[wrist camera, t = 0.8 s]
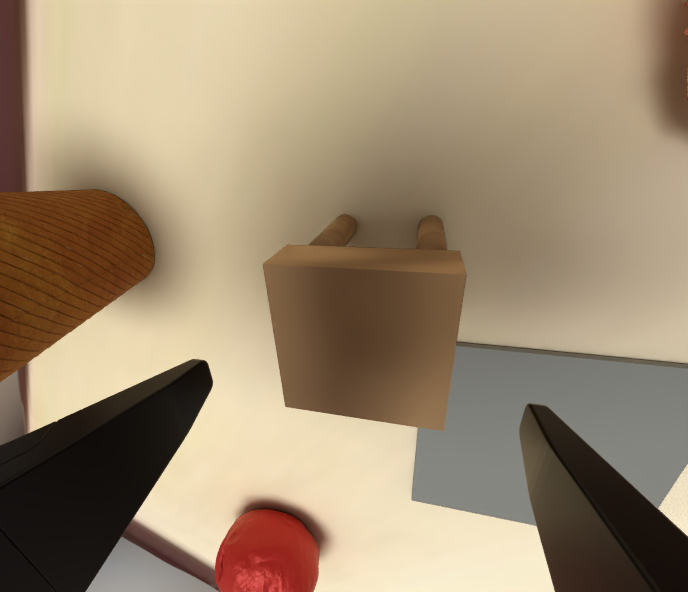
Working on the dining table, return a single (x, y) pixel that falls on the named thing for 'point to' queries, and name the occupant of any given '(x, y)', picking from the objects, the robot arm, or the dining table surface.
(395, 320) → the stool
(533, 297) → the dining table surface
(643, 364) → the mat
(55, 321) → the disposable coffee cup
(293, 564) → the pomegranate
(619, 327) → the dining table surface
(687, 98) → the flower
